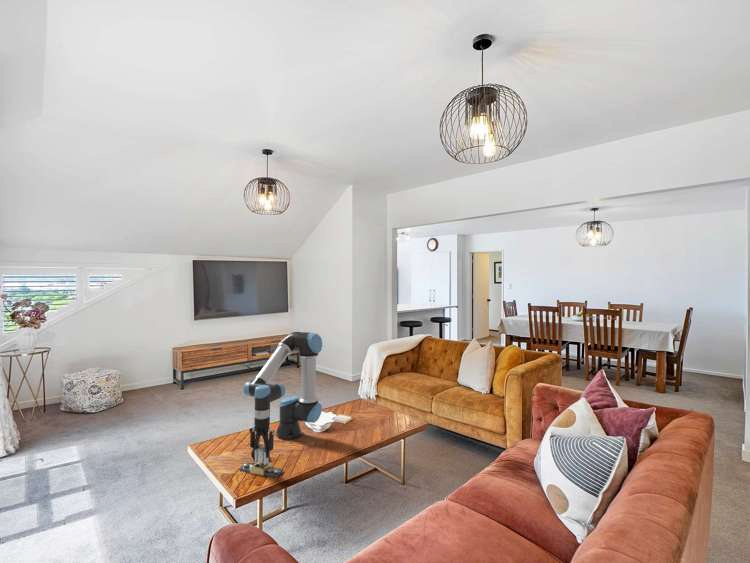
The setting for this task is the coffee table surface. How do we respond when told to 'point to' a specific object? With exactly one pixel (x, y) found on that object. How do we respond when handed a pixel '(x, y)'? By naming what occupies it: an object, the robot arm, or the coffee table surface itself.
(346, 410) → the coffee table surface
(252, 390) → the robot arm
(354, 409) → the coffee table surface
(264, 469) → the chain ends
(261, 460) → the pin
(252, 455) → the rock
